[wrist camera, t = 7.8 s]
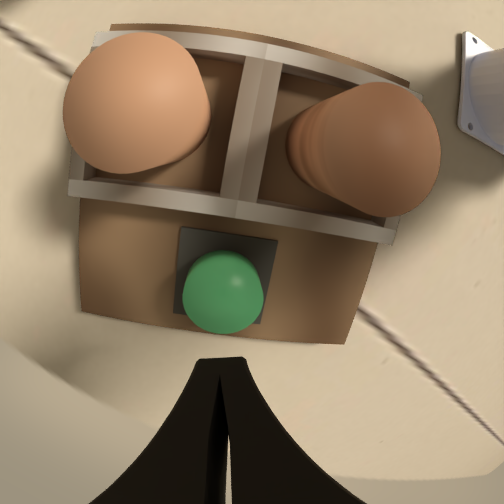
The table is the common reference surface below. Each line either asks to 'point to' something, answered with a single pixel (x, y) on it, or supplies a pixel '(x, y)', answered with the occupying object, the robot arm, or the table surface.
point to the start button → (222, 292)
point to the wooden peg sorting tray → (261, 187)
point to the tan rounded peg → (136, 104)
